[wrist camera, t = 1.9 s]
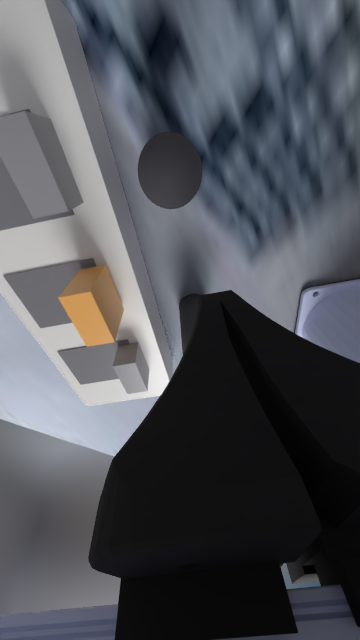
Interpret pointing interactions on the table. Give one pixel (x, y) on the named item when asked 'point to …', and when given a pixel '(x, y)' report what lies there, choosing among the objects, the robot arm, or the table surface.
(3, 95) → the breaker panel
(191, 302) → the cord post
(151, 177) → the disc
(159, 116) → the table surface
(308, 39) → the table surface
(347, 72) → the table surface
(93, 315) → the block
